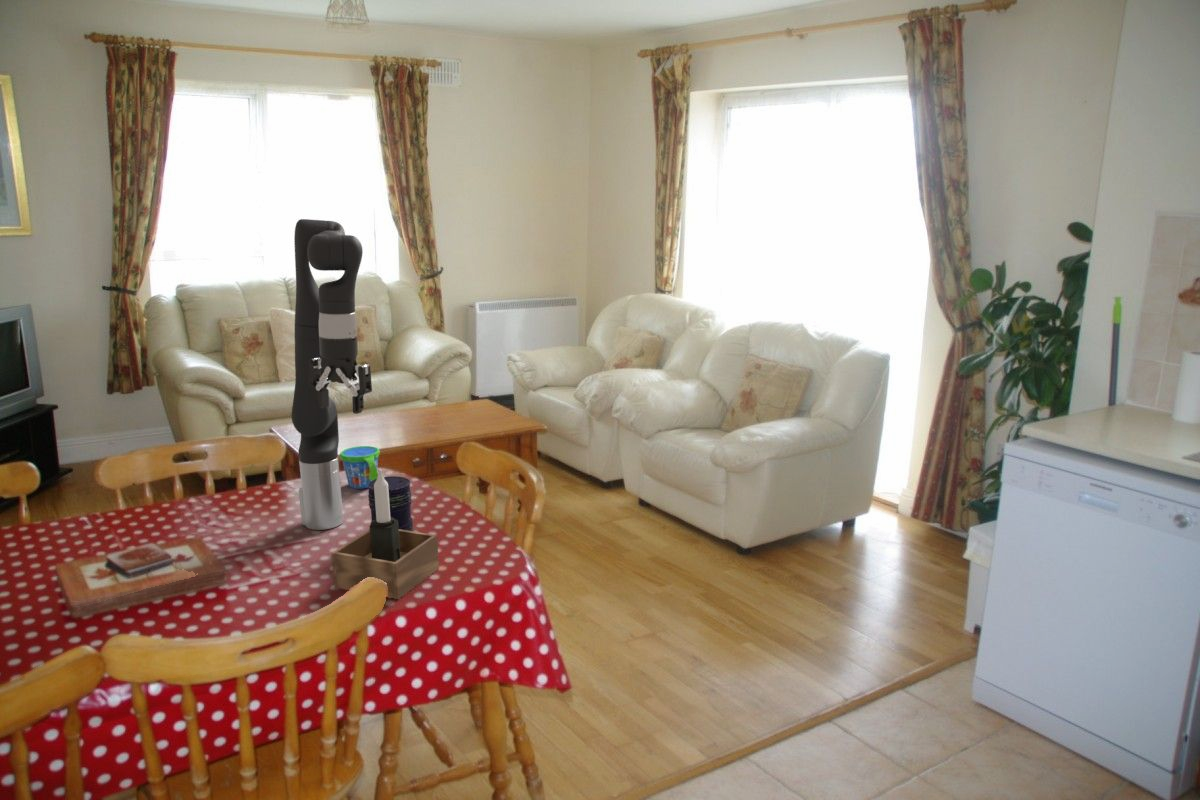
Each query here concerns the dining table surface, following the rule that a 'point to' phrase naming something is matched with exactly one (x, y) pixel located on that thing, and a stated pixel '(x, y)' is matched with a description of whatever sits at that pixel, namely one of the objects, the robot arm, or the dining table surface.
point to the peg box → (387, 563)
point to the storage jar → (395, 501)
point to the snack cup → (360, 465)
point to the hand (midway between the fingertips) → (340, 410)
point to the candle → (384, 525)
